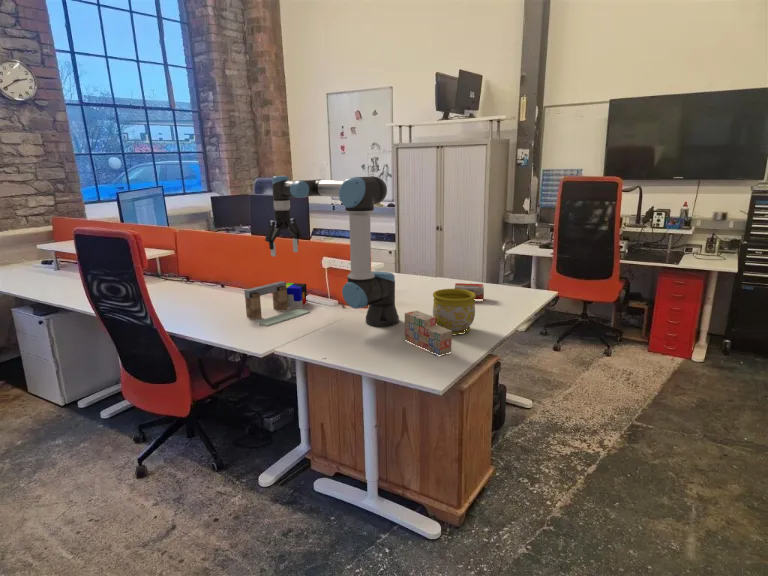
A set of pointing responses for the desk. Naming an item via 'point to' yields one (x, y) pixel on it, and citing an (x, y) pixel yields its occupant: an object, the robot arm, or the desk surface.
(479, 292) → the medicine box
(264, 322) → the mat
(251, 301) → the stand
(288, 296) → the puzzle toy
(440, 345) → the stack of blocks
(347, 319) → the desk surface
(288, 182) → the robot arm
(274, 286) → the rail
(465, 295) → the flowerpot
